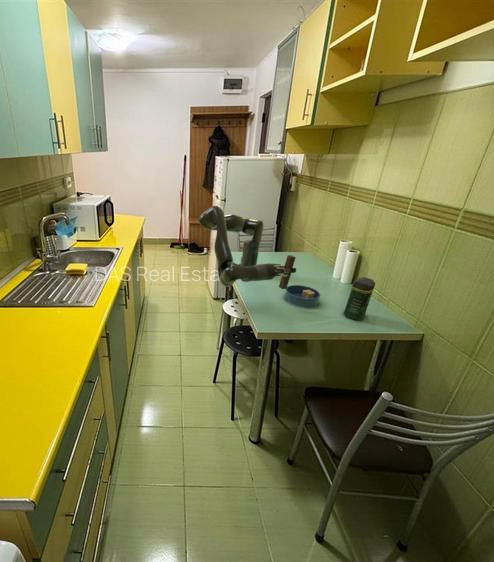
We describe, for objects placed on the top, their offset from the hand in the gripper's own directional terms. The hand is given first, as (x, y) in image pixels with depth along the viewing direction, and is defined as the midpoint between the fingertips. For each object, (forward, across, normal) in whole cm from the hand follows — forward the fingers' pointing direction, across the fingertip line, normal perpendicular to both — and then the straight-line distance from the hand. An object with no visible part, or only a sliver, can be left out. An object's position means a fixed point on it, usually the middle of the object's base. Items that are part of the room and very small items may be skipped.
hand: (293, 268), depth 142 cm
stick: (-4, 0, +9) cm, 10 cm away
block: (+15, +2, +19) cm, 24 cm away
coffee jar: (+24, -18, +19) cm, 36 cm away
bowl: (+11, +2, +19) cm, 22 cm away
